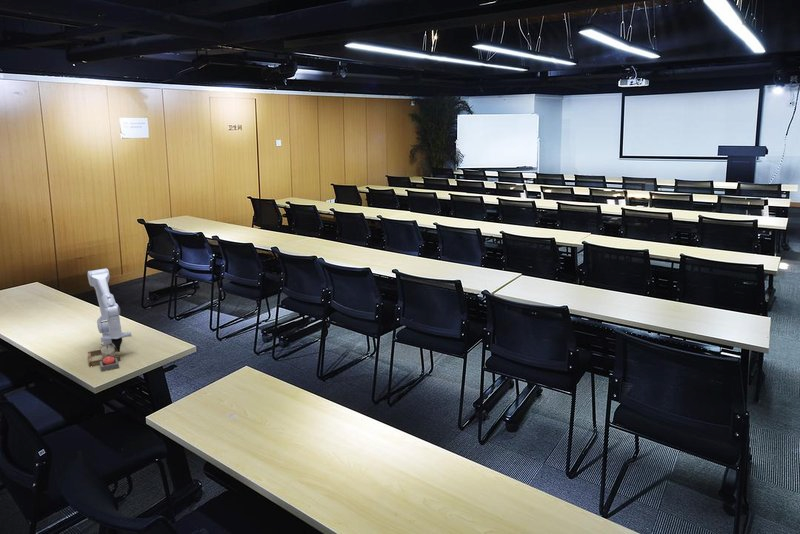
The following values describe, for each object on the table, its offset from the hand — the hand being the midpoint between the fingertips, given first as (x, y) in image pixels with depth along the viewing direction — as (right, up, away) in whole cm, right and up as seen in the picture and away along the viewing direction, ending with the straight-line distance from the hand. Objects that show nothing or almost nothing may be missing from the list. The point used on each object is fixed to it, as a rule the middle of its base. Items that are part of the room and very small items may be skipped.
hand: (118, 351), depth 293 cm
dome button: (+2, -5, -13) cm, 14 cm away
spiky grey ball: (-4, -3, -2) cm, 6 cm away
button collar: (+2, -6, -13) cm, 14 cm away
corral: (-6, -3, -3) cm, 7 cm away
